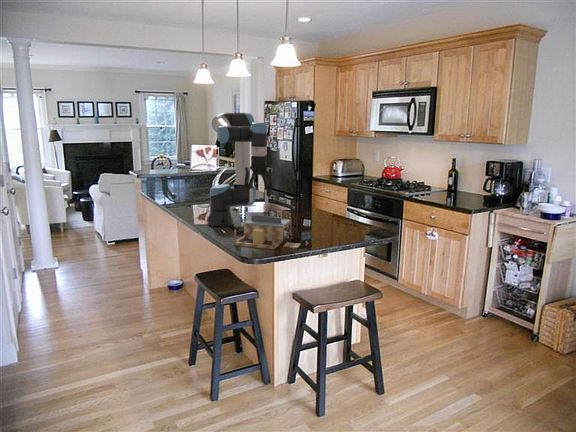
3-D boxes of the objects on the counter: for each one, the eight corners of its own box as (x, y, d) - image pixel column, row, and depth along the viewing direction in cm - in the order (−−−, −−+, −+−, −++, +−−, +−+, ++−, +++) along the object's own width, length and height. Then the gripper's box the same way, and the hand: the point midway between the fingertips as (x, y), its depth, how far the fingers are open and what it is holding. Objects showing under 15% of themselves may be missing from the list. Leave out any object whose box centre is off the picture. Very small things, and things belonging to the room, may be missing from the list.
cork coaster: (283, 247, 213) (283, 246, 212) (287, 243, 219) (287, 242, 219) (296, 248, 211) (296, 247, 210) (300, 244, 217) (300, 243, 217)
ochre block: (252, 244, 217) (252, 230, 215) (256, 242, 221) (256, 228, 219) (261, 245, 215) (261, 231, 214) (264, 242, 220) (264, 229, 218)
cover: (244, 223, 225) (244, 216, 224) (253, 218, 238) (253, 211, 238) (282, 227, 219) (282, 220, 219) (290, 221, 232) (290, 214, 232)
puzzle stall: (233, 245, 215) (233, 230, 213) (254, 231, 241) (254, 218, 240) (274, 249, 209) (274, 234, 207) (291, 234, 235) (291, 221, 234)
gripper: (236, 155, 208) (236, 202, 213) (276, 156, 202) (275, 205, 207) (242, 154, 215) (242, 199, 220) (281, 155, 209) (280, 202, 214)
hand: (258, 202), depth 214 cm, fingers open, 7 cm apart
